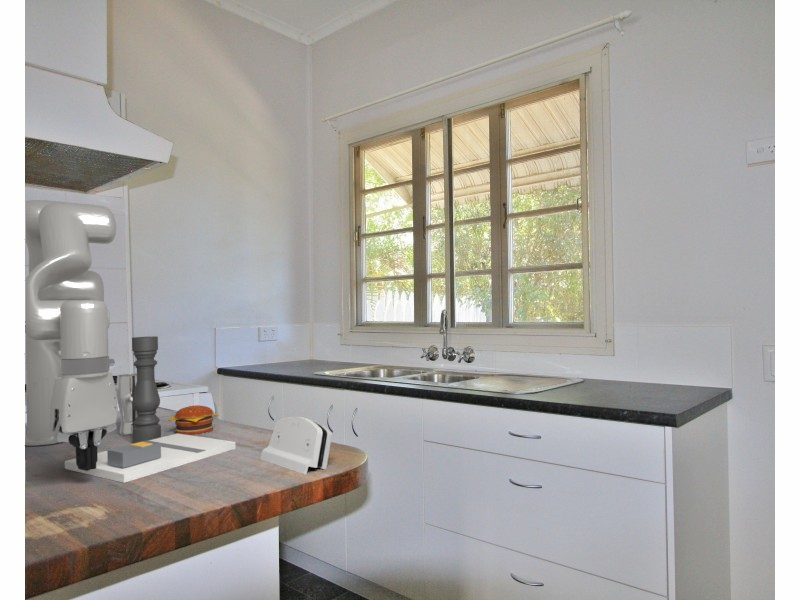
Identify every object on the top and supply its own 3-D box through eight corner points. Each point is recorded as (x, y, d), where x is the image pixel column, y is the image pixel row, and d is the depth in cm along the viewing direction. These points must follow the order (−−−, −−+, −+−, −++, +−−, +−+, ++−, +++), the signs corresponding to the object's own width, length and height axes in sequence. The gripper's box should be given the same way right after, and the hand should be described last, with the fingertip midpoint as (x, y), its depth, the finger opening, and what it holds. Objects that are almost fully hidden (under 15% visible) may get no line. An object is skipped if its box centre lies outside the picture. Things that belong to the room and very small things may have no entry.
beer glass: (135, 436, 135) (134, 376, 135) (111, 435, 137) (110, 376, 137) (153, 429, 142) (152, 372, 142) (130, 429, 143) (129, 373, 144)
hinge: (259, 458, 111) (272, 410, 114) (278, 461, 114) (290, 414, 117) (305, 474, 99) (318, 420, 102) (325, 477, 102) (337, 425, 105)
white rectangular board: (64, 468, 108) (64, 460, 108) (177, 439, 130) (177, 433, 130) (124, 482, 98) (123, 473, 98) (235, 448, 120) (235, 441, 120)
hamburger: (166, 435, 136) (166, 408, 136) (192, 427, 145) (191, 402, 145) (197, 436, 133) (197, 409, 133) (221, 428, 142) (221, 403, 142)
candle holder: (155, 436, 134) (153, 336, 135) (165, 440, 130) (162, 336, 130) (128, 441, 130) (126, 337, 130) (138, 445, 125) (135, 338, 126)
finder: (107, 464, 104) (107, 449, 104) (145, 454, 110) (145, 439, 111) (123, 467, 101) (122, 452, 101) (161, 457, 108) (160, 442, 108)
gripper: (113, 363, 106) (114, 456, 106) (29, 371, 94) (31, 477, 93) (135, 364, 103) (137, 460, 102) (52, 373, 90) (54, 483, 90)
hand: (87, 468), depth 98 cm, fingers closed
